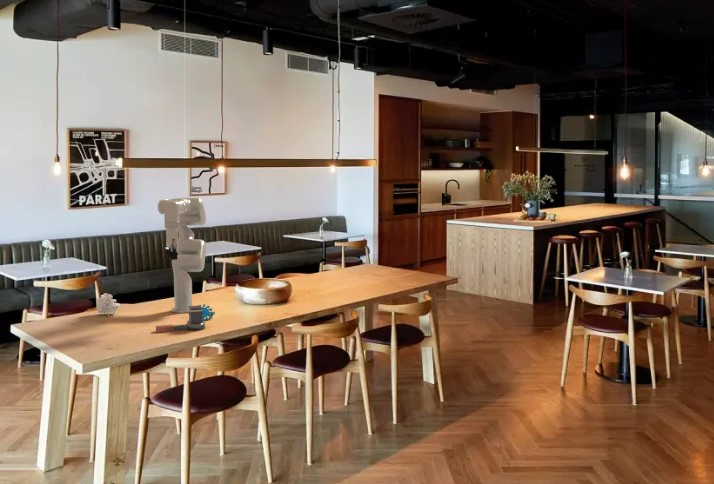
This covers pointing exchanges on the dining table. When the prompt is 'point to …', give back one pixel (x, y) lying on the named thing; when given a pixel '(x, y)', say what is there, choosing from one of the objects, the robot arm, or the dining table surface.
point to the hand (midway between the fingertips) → (172, 258)
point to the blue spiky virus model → (206, 312)
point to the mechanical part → (107, 304)
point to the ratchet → (180, 327)
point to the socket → (195, 314)
